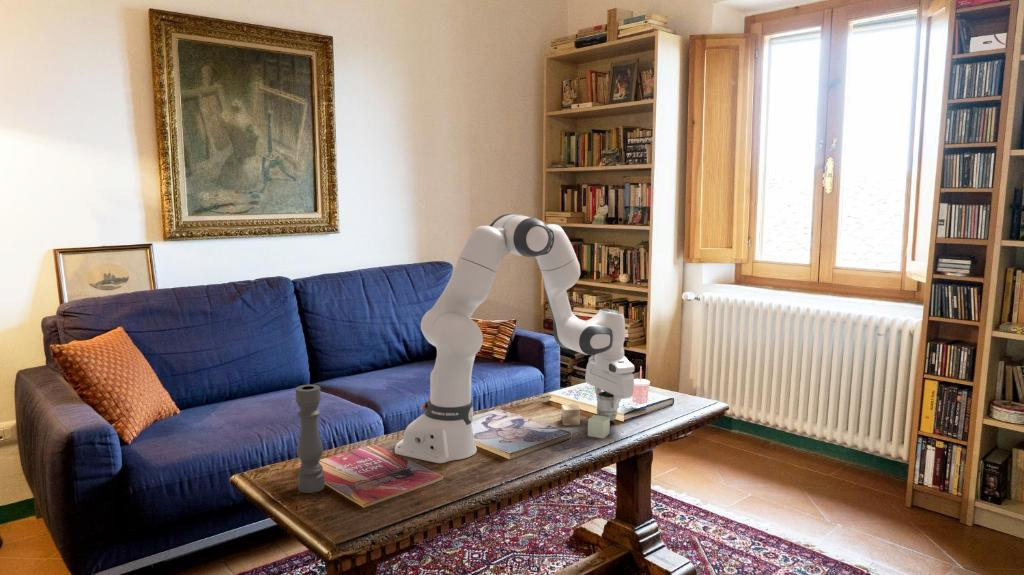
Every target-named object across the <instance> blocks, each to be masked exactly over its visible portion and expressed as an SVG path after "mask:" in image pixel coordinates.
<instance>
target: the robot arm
mask: <svg viewBox="0 0 1024 575" xmlns="http://www.w3.org/2000/svg"><path fill="white" fill-rule="evenodd" d="M508 254H510V255H514V256H519V257H524V258H525V257H526V258H535V259H536V262H537V264H538V267H539V270H540V273H541V277H542V279H543V289H544V293H545V297H546V300H547V304H548V307H549V311H550V315H551V318H552V324H553V339H554V341H555V343H556V344H557V345H558V346H560V347H561V348H563V349H567V350H572V351H574V352H577V353H579V354H582V355H586V356H589V357H588V362H587V365H586V368H585V378H584V379H585V382H586V384H588V385H590V386H593V387H594V392H595V394H596V400H597V399H598V394H599V393H600V392H603V391H606V392H608V393H610V394H613V395H614V397H613V398H615V399H614V401H613V402H611V407H612V408H614V409H617V410H618V409H619V408H620V406H619V404H620V402H621V400H622V399H623V400H625V399H632V395H633V391H634V379H635V377H634V374H633V372H635V365H634V364H633V363H632V362H631V361H629V360H628V358H627V357H626V356H625V348H624V343H625V340H626V339H625V338H626V321H625V320H626V319H625V316H624V314H623V313H622V312H621V311H618V310H614V309H609V308H600V309H598V312H597V313H596V314H595V315H594V316H593V317H591V318H589V319H587V320H583V319H581V318H579V317H578V316H576V315H575V314H574V313H573V312H572V307H571V304H570V301H569V296H568V293H567V291H568V290H569V289H571V288H572V287H573V286H574V285H576V284H577V283H578V281H579V278H580V276H581V267H580V262H579V260H578V258H577V254H576V252H575V249H574V247H573V245H572V243H571V241H570V239H569V236H568V235H567V234H566V232H565V231H564V229H563V228H562V226H560V225H559V224H554V223H549V224H546V223H545V222H544V221H542V220H540V219H538V218H535V217H529V216H527V215H524V214H511V213H506V214H505V213H504V214H502V215H500V216H498V217H497V218H495V219H494V220H493V221H492V222H491V224H489V225H480V226H477V227H475V228H474V230H473V231H472V233H471V234H470V236H469V237H468V238H467V240H466V242H465V245H464V246H463V248H462V250H461V252H460V254H459V258H458V260H457V261H456V264H455V267H454V268H453V271H452V273H451V276H450V278H449V280H448V283H447V284H446V286H445V288H444V290H443V291H442V293H441V294H440V296H439V297H438V299H437V300H436V302H435V304H433V306H432V307H431V309H430V310H427V311H426V312H425V313H424V314H423V317H422V318H421V321H420V330H421V332H422V335H423V337H424V338H425V340H426V341H427V343H429V344H431V345H432V346H433V347H435V348H436V358H435V363H434V367H433V370H432V371H431V372H430V375H429V376H430V377H429V378H430V379H429V380H430V382H429V383H430V384H429V385H430V386H429V387H430V389H429V390H430V392H429V393H430V397H428V399H427V401H425V402H424V403H423V405H422V406H421V407H422V409H421V410H422V411H424V413H422V414H420V416H418V417H417V418H416V419H414V420H413V421H412V422H410V423H409V424H408V425H407V427H406V428H405V430H404V433H403V437H402V439H401V440H399V441H398V442H397V443H396V445H395V446H394V453H395V455H400V456H404V457H408V458H413V459H417V460H422V461H425V462H431V463H436V464H444V463H448V462H451V461H458V460H463V459H466V458H471V456H473V455H475V454H476V453H477V451H478V448H477V446H476V441H475V438H474V430H473V429H474V428H473V423H472V422H473V420H474V419H473V417H474V407H473V404H474V403H473V400H472V372H473V368H474V362H475V358H476V355H477V354H478V352H479V351H480V350H481V348H482V345H483V341H484V335H483V332H482V330H481V328H480V327H479V326H478V324H477V323H476V322H475V321H474V320H473V319H472V318H471V317H472V315H473V313H474V312H475V311H476V310H477V308H478V307H479V306H480V305H481V304H483V303H484V302H485V301H486V300H487V298H488V296H489V293H490V291H491V290H492V289H491V288H492V286H493V283H494V281H495V279H496V276H497V274H498V272H499V269H500V265H501V262H502V261H503V260H504V258H505V257H506V256H507V255H508Z"/></svg>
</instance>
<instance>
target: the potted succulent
mask: <svg viewBox="0 0 1024 575" xmlns="http://www.w3.org/2000/svg"><path fill="white" fill-rule="evenodd" d="M613 397H614V395H613V394H610V393H608V392H606V391H604V390H602V392H600V393H599V394H598V399H597V398H596V401H597V404H596V415H598V416H604V417H610V421H615V420H616V418H617V415H618V409H614V408H612V407H611V402H613V401H614V399H615V398H613Z"/></svg>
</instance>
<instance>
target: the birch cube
mask: <svg viewBox="0 0 1024 575" xmlns="http://www.w3.org/2000/svg"><path fill="white" fill-rule="evenodd" d="M560 415H561V416H560V417H561V422H562V425H563V426H580V425H581V409H580V406H579V404H577V403H575V404H561V414H560Z"/></svg>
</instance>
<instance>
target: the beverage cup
mask: <svg viewBox="0 0 1024 575" xmlns="http://www.w3.org/2000/svg"><path fill="white" fill-rule="evenodd" d="M639 367H640V370H639V378H634V391H633V395H632V397H631V399H632V400H631V403H632V402H634V403H639V404H644V403H647V404H648V399H649V398H648V397H649V390H650V389H649V388H650V384H651V381H650V380H648V379H645V378H642V372H643V371H642V370H643V369H642V368H643V367H642V366H641V365H640V366H639Z"/></svg>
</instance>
